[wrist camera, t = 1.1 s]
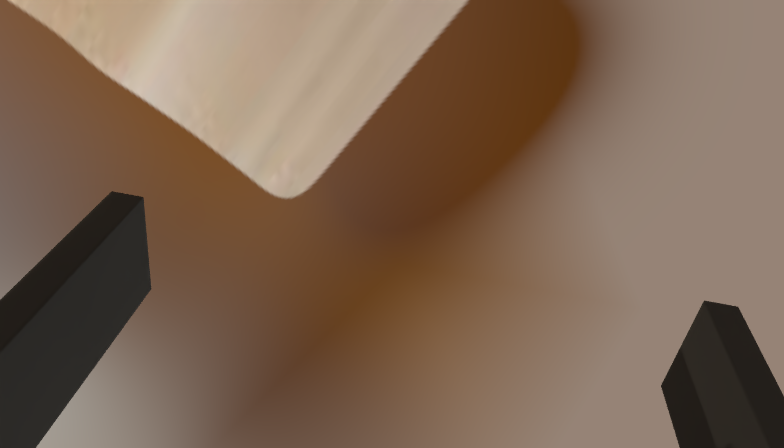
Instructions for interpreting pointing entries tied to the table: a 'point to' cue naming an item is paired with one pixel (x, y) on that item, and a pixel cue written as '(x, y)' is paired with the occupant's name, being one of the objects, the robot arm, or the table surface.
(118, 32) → the table surface
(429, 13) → the table surface
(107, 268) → the robot arm
